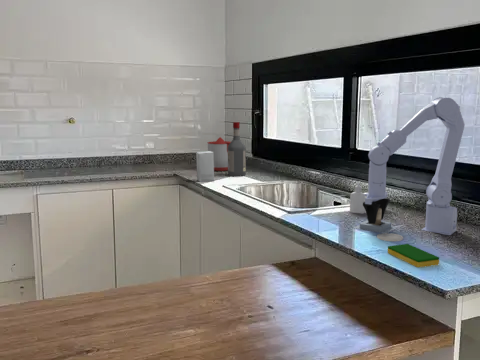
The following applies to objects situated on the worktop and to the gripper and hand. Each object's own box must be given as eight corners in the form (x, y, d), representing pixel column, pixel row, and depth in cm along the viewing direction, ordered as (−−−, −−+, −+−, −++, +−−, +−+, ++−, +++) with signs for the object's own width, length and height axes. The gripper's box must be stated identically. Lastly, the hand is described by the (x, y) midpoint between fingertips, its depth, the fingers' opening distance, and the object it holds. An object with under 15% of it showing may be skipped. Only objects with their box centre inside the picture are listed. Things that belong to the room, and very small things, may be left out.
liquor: (230, 177, 281) (230, 123, 276) (227, 174, 290) (226, 122, 285) (246, 176, 284) (246, 122, 278) (242, 173, 292) (242, 121, 287)
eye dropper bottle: (356, 211, 198) (356, 181, 196) (366, 213, 194) (367, 183, 192) (347, 212, 196) (348, 182, 194) (358, 215, 191) (359, 184, 189)
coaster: (406, 238, 161) (406, 235, 161) (397, 244, 155) (397, 241, 155) (382, 234, 166) (382, 231, 166) (372, 239, 159) (372, 237, 159)
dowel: (382, 227, 173) (383, 208, 171) (378, 229, 170) (379, 210, 169) (372, 225, 175) (373, 207, 174) (368, 227, 172) (369, 209, 171)
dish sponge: (407, 251, 149) (407, 243, 149) (439, 266, 136) (440, 257, 136) (386, 253, 147) (387, 245, 147) (417, 269, 134) (418, 260, 134)
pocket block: (397, 228, 173) (398, 222, 172) (386, 234, 165) (387, 229, 164) (364, 223, 180) (365, 217, 179) (352, 229, 172) (352, 223, 172)
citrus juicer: (226, 173, 296) (225, 138, 293) (202, 170, 306) (201, 137, 302) (240, 169, 309) (240, 136, 306) (217, 167, 319) (217, 135, 315)
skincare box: (211, 179, 275) (210, 150, 272) (214, 181, 268) (214, 152, 266) (196, 180, 272) (195, 151, 269) (199, 182, 266) (198, 152, 263)
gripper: (374, 178, 178) (372, 215, 180) (356, 184, 166) (355, 224, 169) (394, 179, 173) (392, 218, 176) (377, 186, 162) (375, 227, 164)
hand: (375, 221), depth 172 cm, fingers open, 6 cm apart
